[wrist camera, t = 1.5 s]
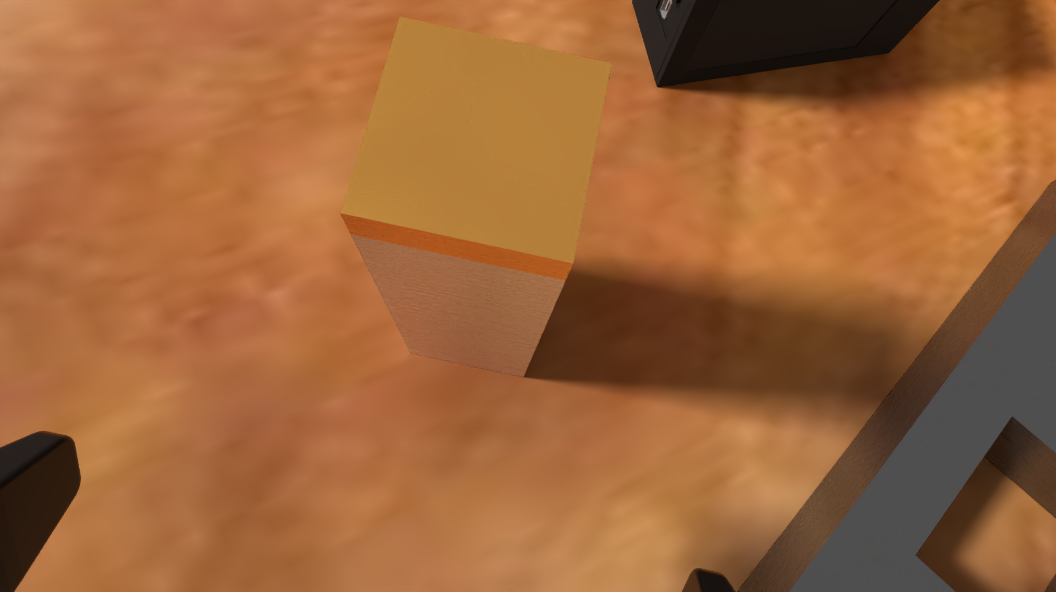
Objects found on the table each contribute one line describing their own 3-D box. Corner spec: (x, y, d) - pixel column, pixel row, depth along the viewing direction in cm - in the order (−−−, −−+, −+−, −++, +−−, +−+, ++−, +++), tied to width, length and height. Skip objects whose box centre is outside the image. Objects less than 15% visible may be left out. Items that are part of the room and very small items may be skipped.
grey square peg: (523, 377, 23) (573, 263, 11) (410, 353, 23) (339, 213, 11) (545, 270, 24) (611, 63, 12) (437, 247, 24) (399, 16, 12)
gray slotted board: (854, 1059, 19) (922, 1163, 16) (590, 783, 20) (610, 832, 17) (1267, 353, 26) (1367, 336, 23) (1051, 182, 27) (1119, 146, 24)
